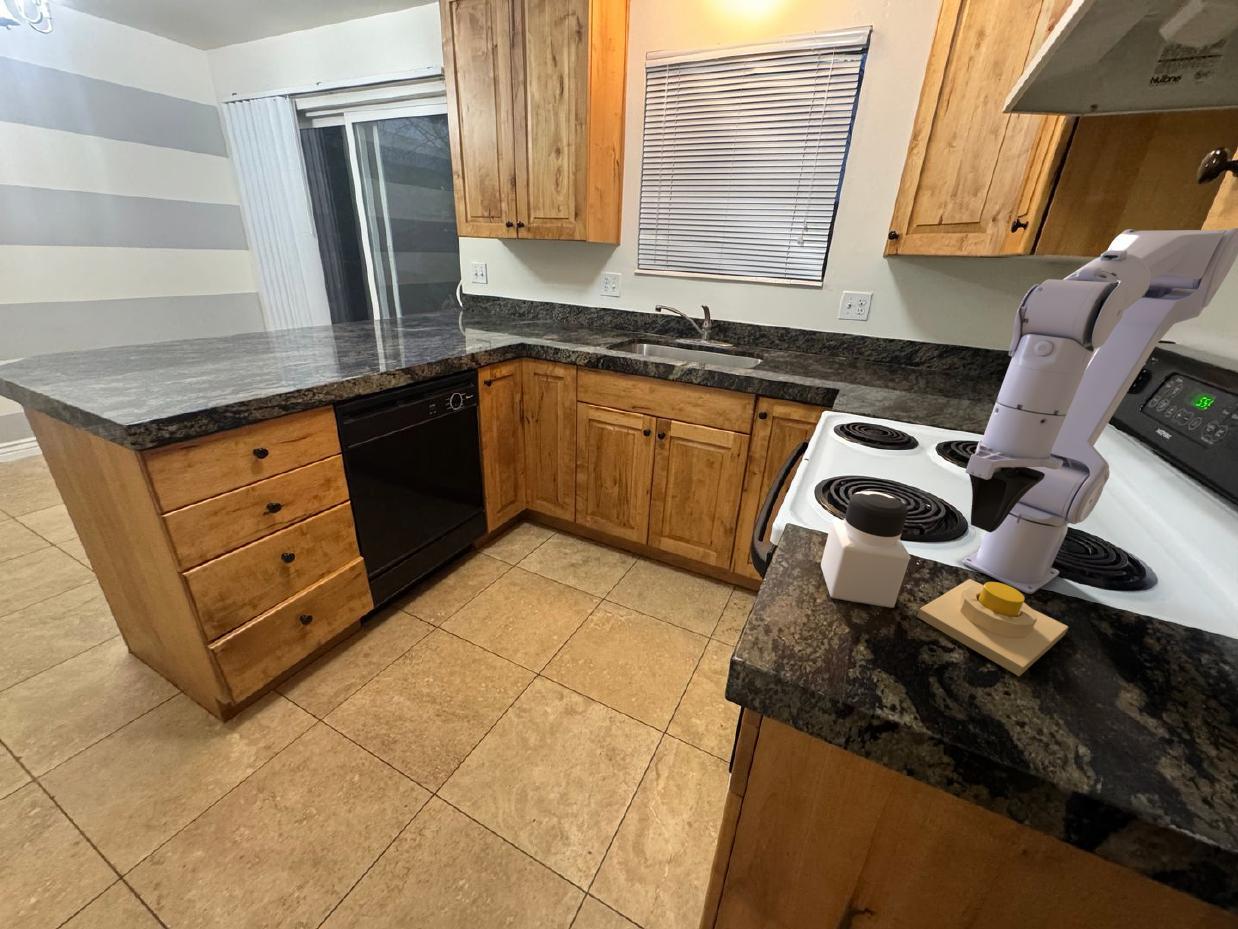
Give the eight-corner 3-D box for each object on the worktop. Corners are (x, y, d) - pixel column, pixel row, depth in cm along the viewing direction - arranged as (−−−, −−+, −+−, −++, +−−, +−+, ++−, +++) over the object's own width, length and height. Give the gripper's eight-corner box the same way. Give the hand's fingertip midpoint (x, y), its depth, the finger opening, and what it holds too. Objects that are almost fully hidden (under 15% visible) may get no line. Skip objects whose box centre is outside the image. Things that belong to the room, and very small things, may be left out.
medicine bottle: (894, 609, 57) (925, 517, 52) (829, 599, 58) (854, 508, 54) (877, 574, 63) (903, 490, 59) (819, 565, 65) (840, 482, 60)
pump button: (986, 593, 57) (993, 578, 56) (1023, 611, 54) (1030, 595, 53) (972, 602, 55) (978, 587, 54) (1009, 622, 52) (1016, 606, 51)
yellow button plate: (966, 586, 62) (974, 566, 61) (1064, 635, 55) (1075, 613, 53) (916, 617, 56) (924, 595, 55) (1019, 677, 48) (1030, 653, 47)
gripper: (1051, 426, 43) (995, 561, 48) (1105, 412, 50) (1051, 530, 55) (963, 405, 48) (921, 528, 53) (1024, 395, 56) (982, 504, 61)
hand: (983, 527), depth 55 cm, fingers closed
